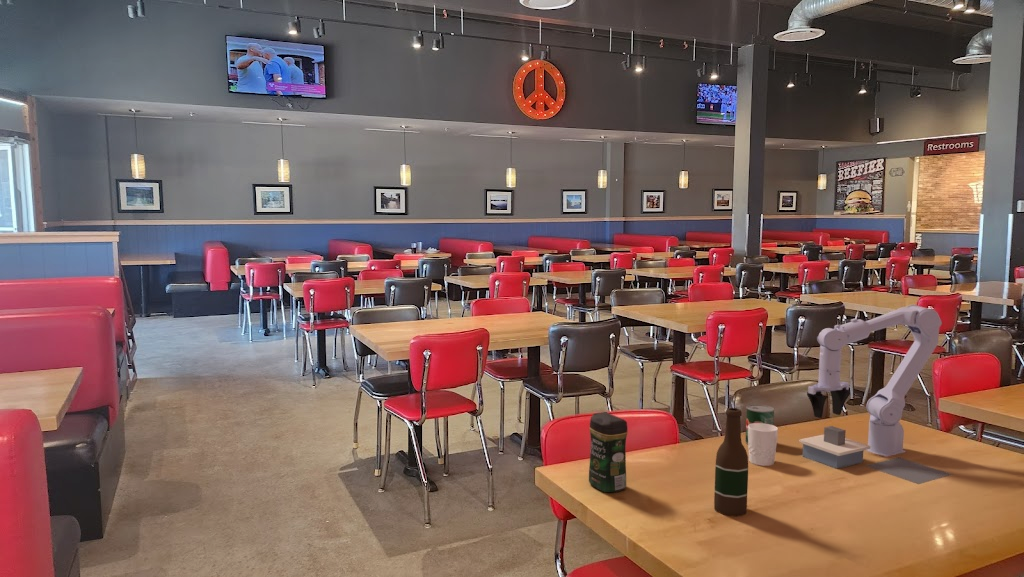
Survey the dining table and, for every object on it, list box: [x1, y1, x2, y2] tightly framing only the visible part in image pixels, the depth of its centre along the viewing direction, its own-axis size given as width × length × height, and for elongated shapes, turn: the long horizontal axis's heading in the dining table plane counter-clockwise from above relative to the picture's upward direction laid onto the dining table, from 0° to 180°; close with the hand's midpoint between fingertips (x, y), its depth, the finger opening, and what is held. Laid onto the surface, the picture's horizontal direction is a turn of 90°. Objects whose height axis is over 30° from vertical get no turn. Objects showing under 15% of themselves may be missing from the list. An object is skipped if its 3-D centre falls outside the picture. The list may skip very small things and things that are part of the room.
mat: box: [865, 457, 953, 485], centre depth 190 cm, size 15×15×1 cm
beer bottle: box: [713, 407, 749, 517], centre depth 163 cm, size 8×8×24 cm
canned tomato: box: [744, 404, 775, 445], centre depth 212 cm, size 8×8×11 cm
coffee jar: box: [588, 411, 628, 493], centre depth 177 cm, size 10×8×19 cm
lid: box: [798, 425, 870, 456], centre depth 197 cm, size 13×13×5 cm
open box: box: [802, 444, 865, 470], centre depth 198 cm, size 11×11×4 cm
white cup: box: [747, 423, 779, 467], centre depth 196 cm, size 8×8×10 cm
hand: (827, 415), depth 206 cm, fingers open, 7 cm apart
